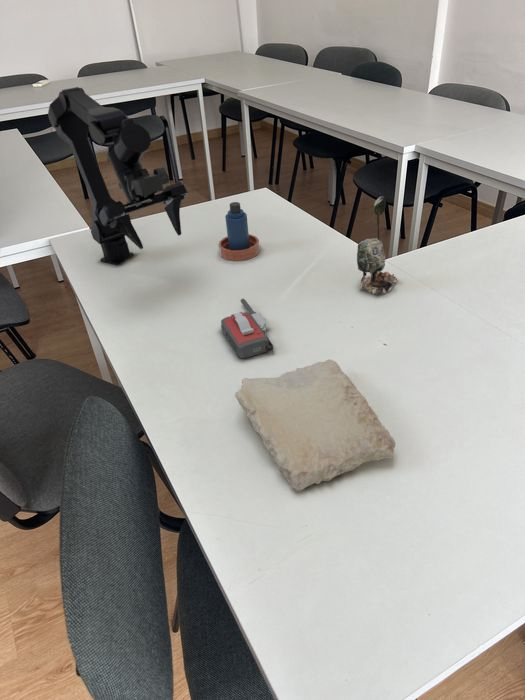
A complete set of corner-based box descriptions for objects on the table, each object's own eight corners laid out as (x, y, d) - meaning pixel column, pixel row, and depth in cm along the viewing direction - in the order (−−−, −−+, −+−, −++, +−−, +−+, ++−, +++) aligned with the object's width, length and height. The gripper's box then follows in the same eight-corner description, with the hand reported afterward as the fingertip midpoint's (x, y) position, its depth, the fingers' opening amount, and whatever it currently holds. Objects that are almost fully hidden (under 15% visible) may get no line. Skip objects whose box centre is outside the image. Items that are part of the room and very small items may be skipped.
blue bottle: (225, 254, 137) (219, 206, 129) (236, 245, 141) (230, 198, 133) (243, 257, 135) (238, 209, 127) (253, 248, 139) (249, 201, 131)
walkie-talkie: (283, 351, 102) (247, 303, 118) (282, 332, 100) (245, 286, 115) (241, 364, 100) (209, 313, 115) (239, 345, 98) (207, 296, 113)
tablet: (273, 505, 75) (401, 459, 77) (264, 470, 70) (400, 423, 73) (233, 401, 94) (337, 367, 97) (224, 369, 90) (333, 334, 92)
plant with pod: (344, 287, 120) (346, 203, 108) (382, 272, 125) (388, 189, 113) (367, 302, 115) (372, 214, 103) (406, 285, 119) (415, 200, 107)
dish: (218, 263, 134) (216, 252, 132) (222, 245, 143) (221, 234, 141) (258, 261, 134) (257, 250, 132) (260, 243, 142) (259, 232, 140)
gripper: (95, 168, 98) (131, 246, 101) (181, 145, 107) (212, 217, 109) (85, 189, 108) (118, 259, 110) (164, 166, 117) (193, 232, 119)
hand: (161, 241), depth 112 cm, fingers open, 9 cm apart
